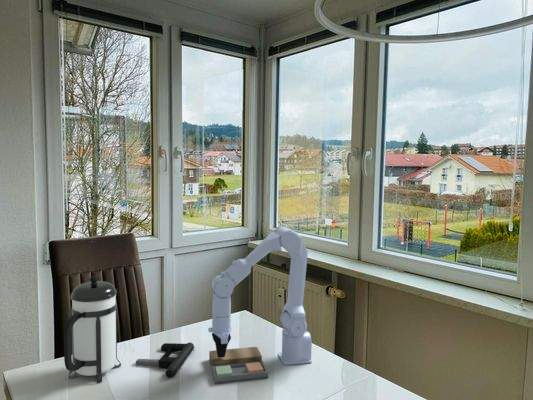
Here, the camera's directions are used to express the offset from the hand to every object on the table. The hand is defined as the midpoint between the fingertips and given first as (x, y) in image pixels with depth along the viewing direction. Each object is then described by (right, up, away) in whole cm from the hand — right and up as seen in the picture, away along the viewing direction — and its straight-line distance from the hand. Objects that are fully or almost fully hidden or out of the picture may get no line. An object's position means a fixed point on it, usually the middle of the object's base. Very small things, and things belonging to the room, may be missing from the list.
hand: (221, 356), depth 129 cm
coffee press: (-38, -4, -5) cm, 38 cm away
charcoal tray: (+6, -4, -4) cm, 8 cm away
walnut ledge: (+4, -4, +4) cm, 7 cm away
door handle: (-19, -4, +4) cm, 19 cm away
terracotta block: (+11, -2, -4) cm, 11 cm away
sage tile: (+2, -2, -6) cm, 6 cm away
